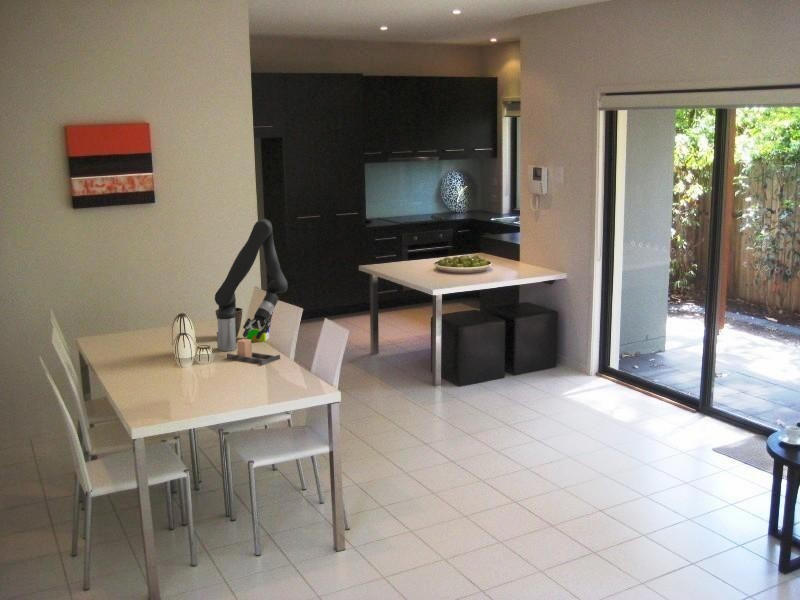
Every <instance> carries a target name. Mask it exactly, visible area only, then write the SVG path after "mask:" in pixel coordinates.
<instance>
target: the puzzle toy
mask: <svg viewBox="0 0 800 600" xmlns="http://www.w3.org/2000/svg"><path fill="white" fill-rule="evenodd" d="M268 321H269V322H270V320H268ZM251 326H252V325H251ZM264 326H265V325H264ZM264 326H263V328H264ZM252 327H253V326H252ZM248 329H249V328H248ZM258 332H260V331H259V329H255V328H254V329H253V330H250V331H249V333H248V335H247V336H246V339H249V340H251V341H261V342H260V343H264V342H267V340H269V339H270V328H269V329H268V331H267V333H263V334H262V336H261V337H260V339H259V340H258V339H256V336H257V334H258Z"/></svg>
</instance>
